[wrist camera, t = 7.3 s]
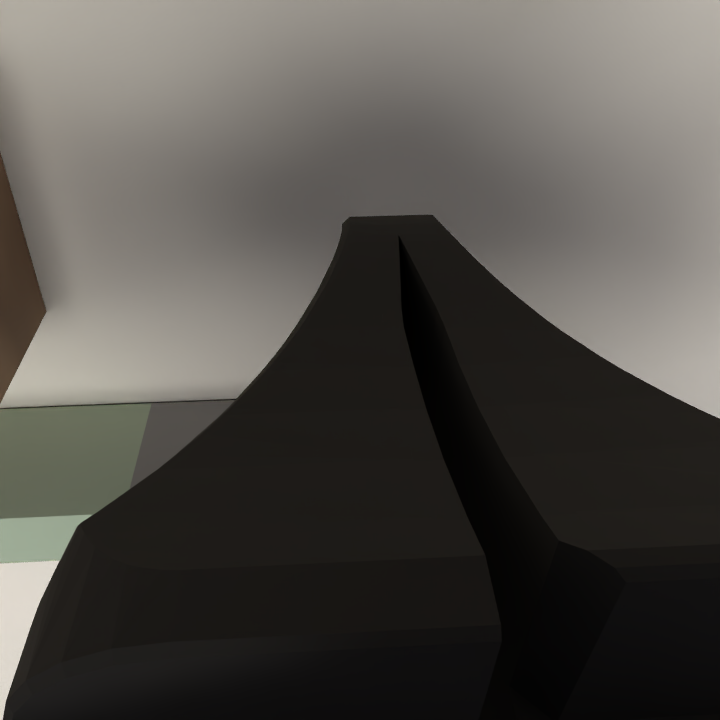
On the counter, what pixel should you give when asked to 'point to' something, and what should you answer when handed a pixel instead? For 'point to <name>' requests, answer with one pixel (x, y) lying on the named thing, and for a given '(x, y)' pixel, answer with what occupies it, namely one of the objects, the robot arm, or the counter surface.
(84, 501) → the green and grey bars
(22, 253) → the walnut block
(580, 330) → the counter surface
